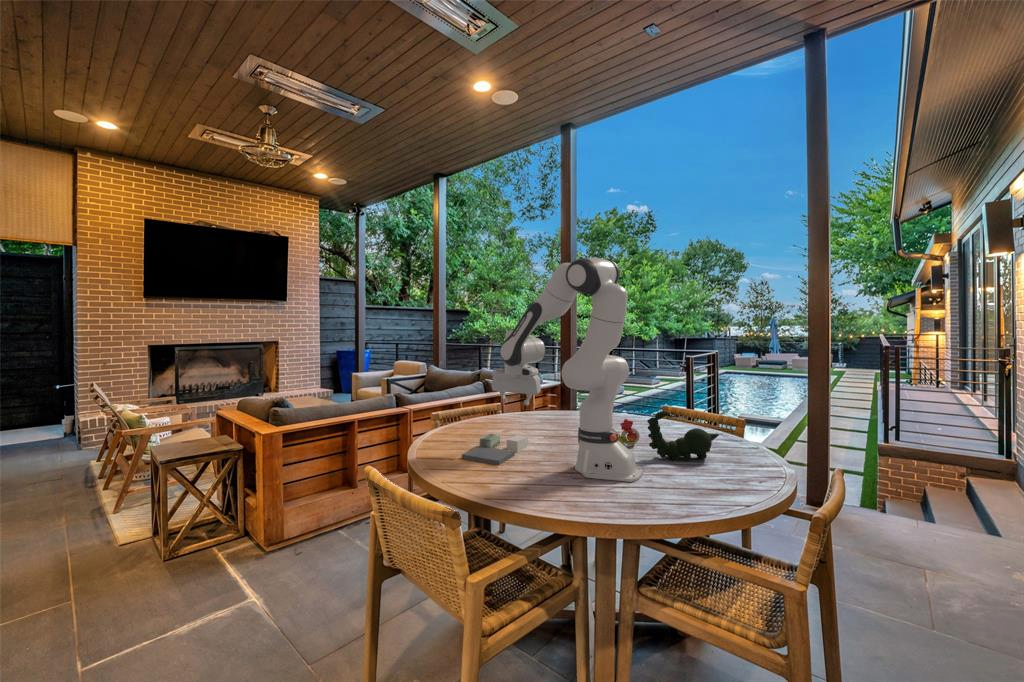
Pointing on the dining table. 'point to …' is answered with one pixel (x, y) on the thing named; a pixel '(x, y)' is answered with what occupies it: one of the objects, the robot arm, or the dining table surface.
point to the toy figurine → (679, 441)
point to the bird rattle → (631, 436)
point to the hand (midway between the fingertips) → (515, 403)
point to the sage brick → (490, 441)
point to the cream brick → (517, 443)
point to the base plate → (488, 455)
